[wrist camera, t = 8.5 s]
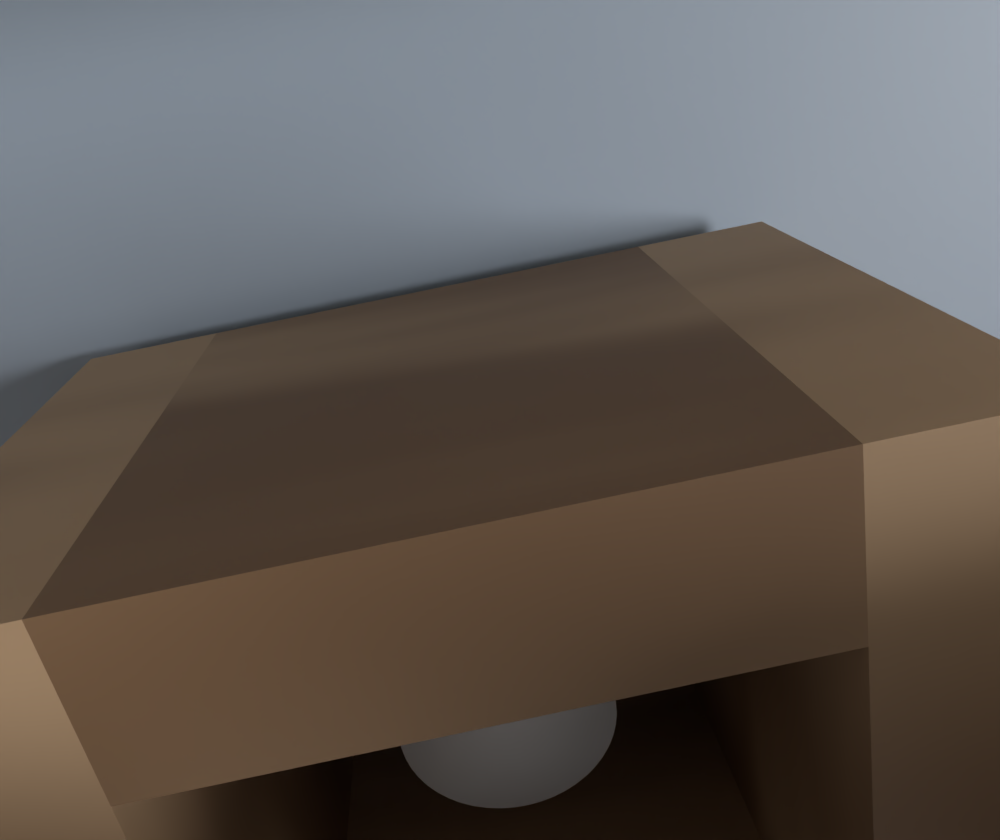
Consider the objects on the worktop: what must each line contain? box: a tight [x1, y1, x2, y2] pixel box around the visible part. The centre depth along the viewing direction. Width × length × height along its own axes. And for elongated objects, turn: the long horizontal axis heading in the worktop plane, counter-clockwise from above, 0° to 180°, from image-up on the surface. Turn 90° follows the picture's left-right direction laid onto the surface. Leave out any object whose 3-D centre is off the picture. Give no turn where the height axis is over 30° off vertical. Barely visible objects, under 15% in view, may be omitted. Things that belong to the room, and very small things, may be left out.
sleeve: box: [0, 221, 1000, 840], centre depth 8 cm, size 7×7×5 cm
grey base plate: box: [0, 0, 1000, 808], centre depth 8 cm, size 22×14×4 cm, turn 11°
